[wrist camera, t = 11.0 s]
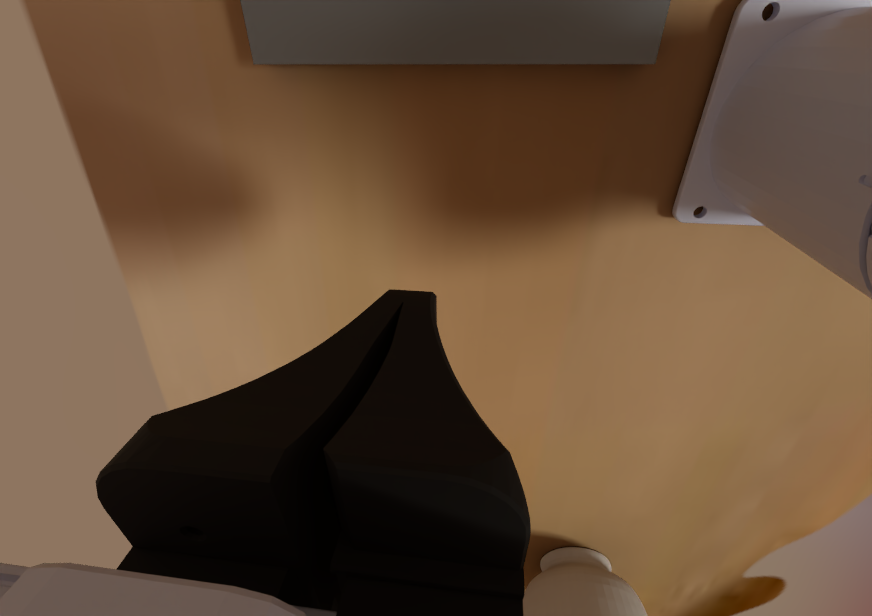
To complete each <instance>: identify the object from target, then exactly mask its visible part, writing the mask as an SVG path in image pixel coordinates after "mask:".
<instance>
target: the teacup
mask: <svg viewBox="0 0 872 616" xmlns="http://www.w3.org/2000/svg"><path fill="white" fill-rule="evenodd" d="M540 567H541V570H542V572H541V573H540V574H538V575H537V576H536V577H534V578H533V579H532V580H531V582H530V583H529V584H528V586H527V588H526V591H525V593H524V598H523V616H647V614H646V611H645V609H644V607H643V604H642V603H641V601H640V599H639V597H638V595H637V594H636V593H635V591H634V590H633V589H632V587H631V586H630V585H629V584H628V583H627V582H626V581H625V580H623V579H622V578H620V577H619V576H617V575H615V574H614V573H612V572H611V564H610V562H609V560H608V559H607V558H606V557H605V556H604V555H602V554H601V553H599V552H596V551H594V550H591V549H586V548H580V547H565V548H559V549H556V550H553V551H551V552H549V553H547V554H546V555H544V556H543V558H542V559H541V562H540Z"/></svg>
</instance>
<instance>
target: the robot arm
mask: <svg viewBox="0 0 872 616" xmlns="http://www.w3.org/2000/svg"><path fill="white" fill-rule="evenodd" d="M769 3H770V4H772V6H773V13H772V15H771V16H770V18H768V19H767V20H766V21H765V20H763V18H762V11H763V10H764V8H765V7H766V6H767V5H768V4H769ZM701 206H703V210H702V212H701V213H699V214H698V215H693V212H694V211H695V209H696V208H698V207H701ZM672 214H673V216H674V217H675V218H676V219H677V220H678V221H679V222H683V223H706V224H732V225H758V226H766V227H767V228H769V229H770V230H772V231H773V232H775V233H776V234H778V235H779V236H781V237H782V238H784V239H785V240H786V241H788V242H789V243H791V244H792V245H794V246H795V247H797V248H798V249H800V250H801V251H802V252H804V253H805V254H807V255H808V256H810V257H811V258H813V259H814V260H816V261H817V262H819V263H820V264H821V265H823V266H824V267H826V268H827V269H829V270H830V271H832V272H833V273H835V274H836V275H838V276H839V277H840V278H842V279H843V280H845V281H846V282H848V283H849V284H851V285H852V286H854V287H855V288H856V289H858V290H859V291H861V292H862V293H864V294H865V295H867V296H868V297H870V298H871V299H872V0H742V1H741V3H740V4H739V5H738V6H737V8H736V10H735V12H734V15H733V18H732V21H731V24H730V28H729V31H728V34H727V37H726V40H725V44H724V47H723V50H722V53H721V56H720V60H719V63H718V66H717V69H716V72H715V75H714V79H713V82H712V85H711V88H710V91H709V95H708V98H707V101H706V104H705V107H704V111H703V114H702V117H701V120H700V123H699V126H698V130H697V133H696V136H695V139H694V142H693V146H692V149H691V152H690V155H689V158H688V162H687V165H686V168H685V171H684V174H683V177H682V181H681V184H680V187H679V190H678V193H677V197H676V200H675V203H674V206H673V210H672ZM96 487H97V494H98V498H99V500H100V502H101V504H102V505H103V507H104V509H105V510H106V512H107V513H108V514H109V515H110V517H111V518H112V520H113V521H114V522H115V524H116V525H117V526H118V527H119V529H120V530H121V531H122V533H123V534H124V535H125V536H126V538H127V539H128V541H129V542H130V543H131V545H132V546H133V547H132V549H131V550H130V551H129V553H128V554H127V555H126V557H125V558H124V560H123V561H122V562H121V564H120V565H119V567H118V568H117V569H116V570H115V569H108V568H102V567H94V566H88V565H81V564H73V563H43V564H40V565H36V566H33V567H25V566H18V565H10V564H4V563H0V616H523V598H524V570H523V567H524V562H525V557H526V553H527V548H528V544H529V539H530V529H531V528H530V517H529V512H528V507H527V502H526V498H525V495H524V491H523V488H522V485H521V482H520V479H519V476H518V473H517V470H516V468H515V465H514V462H513V460H512V457H511V454H510V452H509V451H508V450H507V449H506V448H505V447H504V446H503V445H502V443H501V442H500V441H499V440H498V439H497V438H496V436H495V435H494V434H493V433H492V432H491V430H490V429H489V428H488V427H487V425H486V424H485V423H484V421H483V420H482V419H481V417H480V416H479V415H478V413H477V412H476V410H475V409H474V407H473V406H472V404H471V402H470V401H469V399H468V398H467V396H466V395H465V393H464V391H463V390H462V388H461V386H460V384H459V382H458V381H457V379H456V377H455V375H454V373H453V371H452V368H451V366H450V364H449V362H448V359H447V357H446V354H445V351H444V348H443V346H442V343H441V339H440V336H439V332H438V328H437V312H436V295H435V294H434V293H433V292H424V291H407V290H388V291H387V292H386V293H385V294H384V295H382V296H381V297H380V298H379V299H378V300H377V301H375V302H374V303H373V304H372V305H371V306H370V307H368V308H367V309H366V310H365V311H364V312H363V313H361V314H360V315H359V316H358V317H357V318H355V319H354V320H353V321H352V322H350V323H349V324H348V325H346V326H345V327H344V328H342V329H341V330H340V331H338V332H337V333H336V334H334V335H333V336H331V337H330V338H329V339H327V340H326V341H325V342H323V343H322V344H320V345H319V346H317V347H315V348H314V349H312V350H311V351H309V352H307V353H306V354H304V355H302V356H300V357H299V358H297V359H295V360H294V361H292V362H290V363H288V364H286V365H284V366H282V367H280V368H278V369H276V370H274V371H272V372H270V373H268V374H266V375H264V376H262V377H260V378H258V379H255V380H253V381H251V382H248V383H246V384H244V385H241V386H239V387H237V388H234V389H231V390H229V391H226V392H224V393H221V394H219V395H216V396H213V397H210V398H208V399H205V400H202V401H199V402H196V403H192V404H189V405H186V406H183V407H180V408H177V409H174V410H170V411H167V412H164V413H161V414H157V415H154V416H152V417H151V418H150V419H149V420H148V421H147V422H146V423H145V424H144V425H143V426H142V427H141V428H140V429H139V430H138V431H137V433H136V434H135V435H134V436H133V437H132V438H131V439H130V440H129V441H128V442H127V443H126V444H125V446H124V447H123V448H122V449H121V450H120V451H119V452H118V453H117V454H116V455H115V457H113V459H112V460H111V461H110V462H109V463H108V464H107V465H106V466H105V467H104V468H103V469H102V471H101V472H100V474H99V475H98V478H97V480H96Z"/></svg>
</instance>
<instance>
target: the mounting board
mask: <svg viewBox="0 0 872 616" xmlns="http://www.w3.org/2000/svg"><path fill="white" fill-rule="evenodd" d="M240 1H241V6H242V10H243V15H244V20H245V25H246V29H247V34H248V39H249V44H250V49H251V53H252V58H253V63H254V64H655V63H656V59H657V54H658V50H659V46H660V42H661V38H662V34H663V30H664V26H665V21H666V17H667V13H668V9H669V5H670V1H671V0H240Z"/></svg>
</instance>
